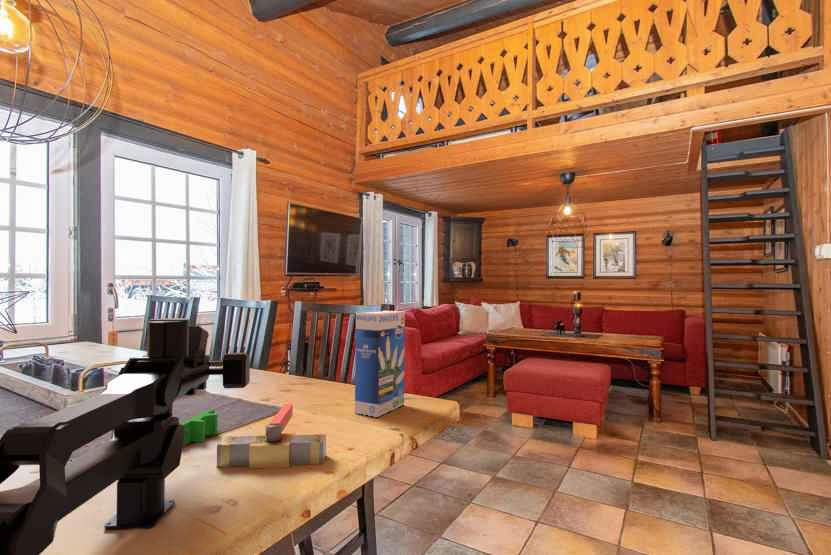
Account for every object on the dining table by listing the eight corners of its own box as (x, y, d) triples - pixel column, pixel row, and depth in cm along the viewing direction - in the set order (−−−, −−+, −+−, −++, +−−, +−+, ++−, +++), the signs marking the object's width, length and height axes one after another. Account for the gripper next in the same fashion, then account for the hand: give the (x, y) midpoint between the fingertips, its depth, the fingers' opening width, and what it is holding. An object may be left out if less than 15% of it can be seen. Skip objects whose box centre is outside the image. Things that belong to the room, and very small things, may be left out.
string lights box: (377, 418, 105) (378, 313, 105) (352, 413, 109) (353, 312, 109) (405, 405, 116) (406, 310, 116) (382, 401, 120) (383, 309, 120)
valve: (322, 466, 78) (322, 444, 78) (214, 469, 76) (214, 446, 76) (326, 453, 84) (326, 432, 84) (226, 455, 82) (226, 434, 82)
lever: (279, 440, 79) (279, 426, 79) (263, 441, 78) (263, 427, 78) (294, 416, 93) (294, 404, 93) (281, 416, 93) (281, 404, 93)
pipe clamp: (193, 449, 86) (193, 426, 86) (176, 448, 86) (176, 425, 86) (225, 429, 97) (225, 409, 97) (209, 428, 97) (209, 408, 97)
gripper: (234, 329, 72) (260, 322, 87) (117, 331, 70) (166, 324, 86) (234, 396, 71) (260, 377, 87) (117, 399, 70) (165, 380, 85)
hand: (213, 363), depth 86 cm, fingers open, 9 cm apart
